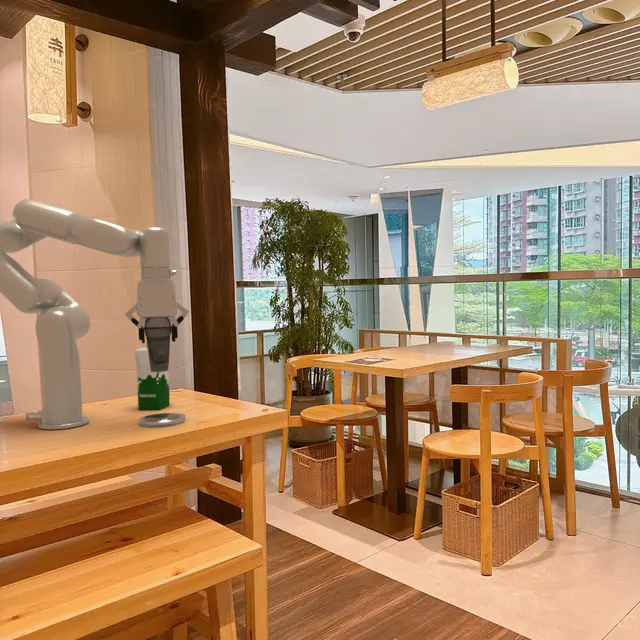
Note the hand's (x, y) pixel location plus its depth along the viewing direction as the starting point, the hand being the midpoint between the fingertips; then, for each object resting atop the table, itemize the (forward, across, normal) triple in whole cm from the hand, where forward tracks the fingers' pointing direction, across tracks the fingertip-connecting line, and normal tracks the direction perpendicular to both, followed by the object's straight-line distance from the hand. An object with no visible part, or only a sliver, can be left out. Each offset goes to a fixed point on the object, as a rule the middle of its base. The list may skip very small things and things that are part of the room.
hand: (158, 341), depth 158 cm
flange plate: (+22, 0, 0) cm, 22 cm away
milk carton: (+22, +1, -22) cm, 31 cm away
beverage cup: (+8, 0, 0) cm, 8 cm away
